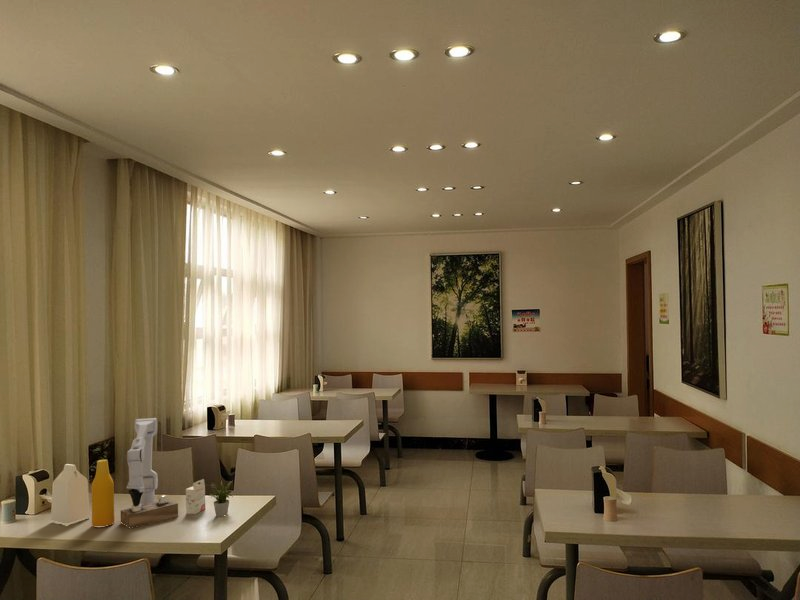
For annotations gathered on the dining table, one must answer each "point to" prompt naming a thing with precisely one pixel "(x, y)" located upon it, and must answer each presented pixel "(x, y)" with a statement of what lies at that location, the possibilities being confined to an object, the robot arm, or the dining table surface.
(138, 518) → the walnut block
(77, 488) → the milk
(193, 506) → the ink cartridge box
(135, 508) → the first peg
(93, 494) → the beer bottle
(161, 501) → the peg
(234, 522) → the dining table surface
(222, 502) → the house plant
